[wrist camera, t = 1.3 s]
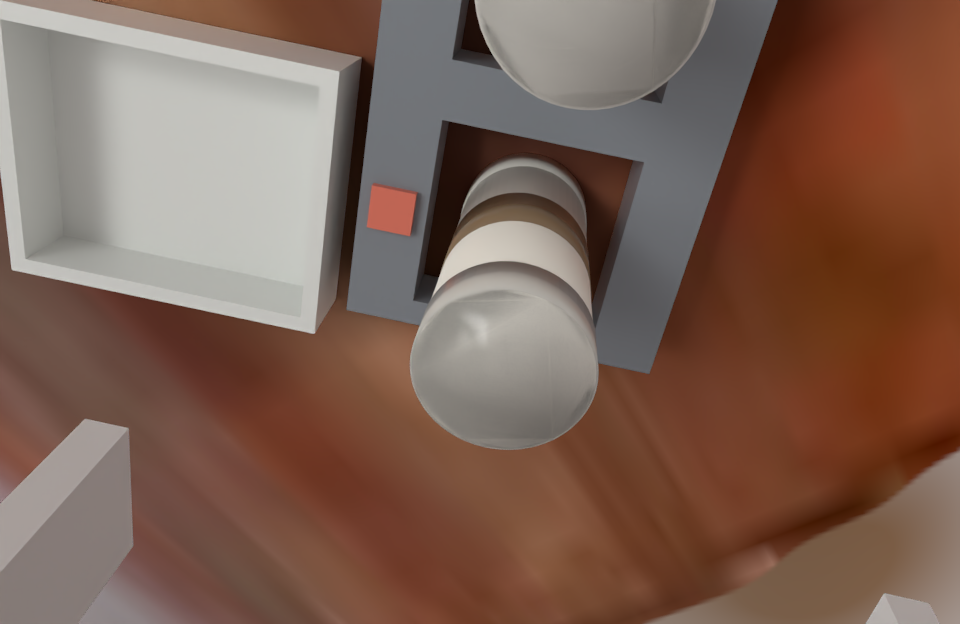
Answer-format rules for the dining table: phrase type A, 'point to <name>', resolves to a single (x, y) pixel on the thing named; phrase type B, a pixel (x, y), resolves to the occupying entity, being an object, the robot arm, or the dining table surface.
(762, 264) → the dining table surface
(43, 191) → the parts tray
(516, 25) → the fuse
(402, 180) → the fuse panel
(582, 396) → the fuse
